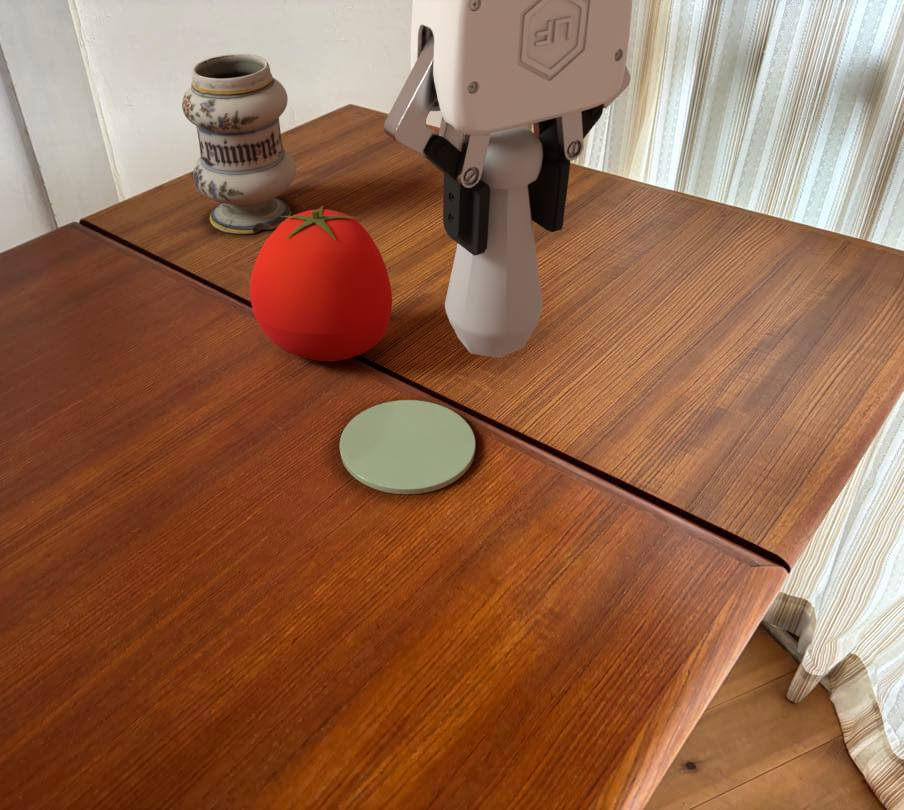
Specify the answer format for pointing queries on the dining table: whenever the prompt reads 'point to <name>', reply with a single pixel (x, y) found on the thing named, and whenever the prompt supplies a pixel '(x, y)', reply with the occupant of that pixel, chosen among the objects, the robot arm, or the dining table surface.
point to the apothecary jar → (240, 142)
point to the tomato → (321, 287)
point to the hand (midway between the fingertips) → (504, 229)
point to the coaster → (407, 447)
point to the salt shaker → (501, 255)
